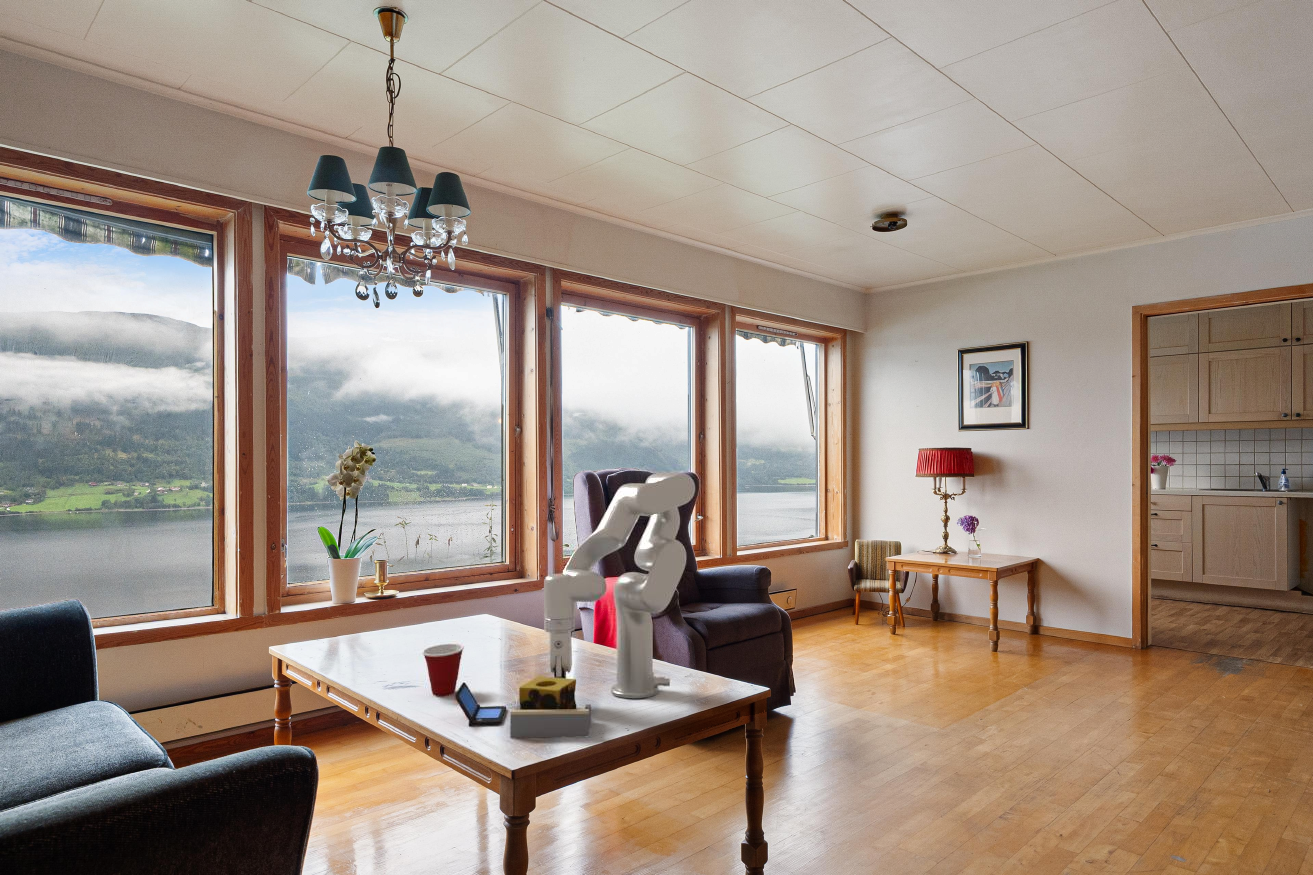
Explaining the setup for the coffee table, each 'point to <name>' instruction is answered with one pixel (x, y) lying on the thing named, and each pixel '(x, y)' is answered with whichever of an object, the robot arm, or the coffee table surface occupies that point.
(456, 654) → the plastic cup
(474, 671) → the coffee table surface
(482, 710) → the handheld game console
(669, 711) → the coffee table surface
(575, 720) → the holder
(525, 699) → the yellow and black cube
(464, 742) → the coffee table surface
